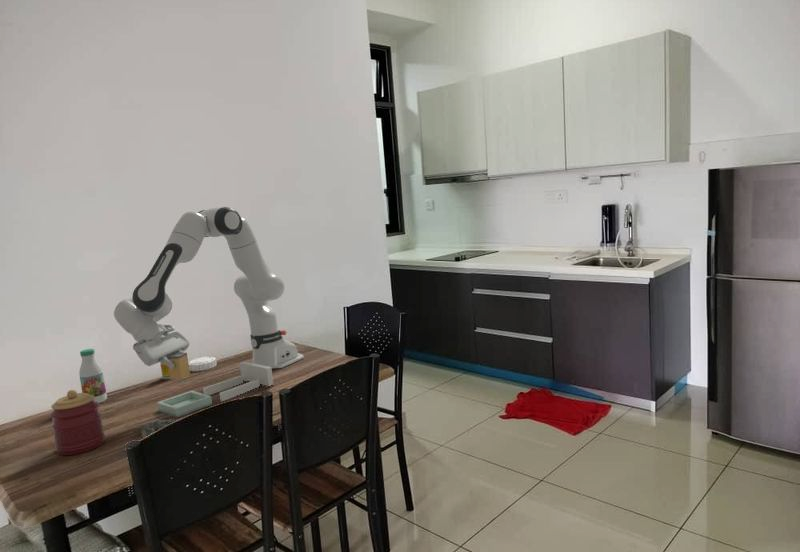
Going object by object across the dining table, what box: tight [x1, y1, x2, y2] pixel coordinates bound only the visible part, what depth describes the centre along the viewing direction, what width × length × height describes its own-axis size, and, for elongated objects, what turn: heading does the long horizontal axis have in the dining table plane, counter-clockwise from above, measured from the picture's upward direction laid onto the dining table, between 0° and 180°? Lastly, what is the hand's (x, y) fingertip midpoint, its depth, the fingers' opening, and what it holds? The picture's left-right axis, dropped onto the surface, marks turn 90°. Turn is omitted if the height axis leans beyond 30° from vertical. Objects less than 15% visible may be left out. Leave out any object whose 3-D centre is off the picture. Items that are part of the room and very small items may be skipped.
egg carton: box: [138, 417, 181, 438], centre depth 174 cm, size 11×8×4 cm
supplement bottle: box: [159, 362, 171, 380], centre depth 236 cm, size 5×5×10 cm
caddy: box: [167, 352, 191, 380], centre depth 194 cm, size 4×4×8 cm
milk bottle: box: [78, 348, 108, 404], centre depth 211 cm, size 8×8×20 cm
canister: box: [49, 389, 106, 456], centre depth 169 cm, size 13×13×18 cm
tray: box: [157, 390, 213, 419], centre depth 196 cm, size 13×13×3 cm
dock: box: [202, 361, 275, 402], centre depth 210 cm, size 20×18×7 cm
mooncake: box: [188, 356, 217, 372], centre depth 247 cm, size 12×12×4 cm
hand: (180, 364), depth 194 cm, fingers closed on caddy, 4 cm apart
